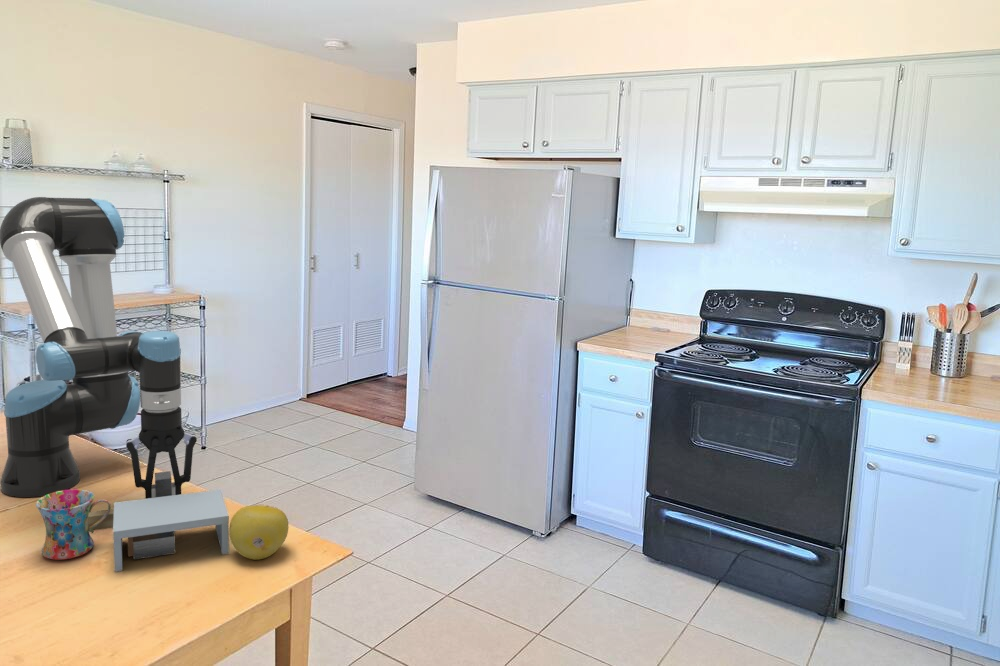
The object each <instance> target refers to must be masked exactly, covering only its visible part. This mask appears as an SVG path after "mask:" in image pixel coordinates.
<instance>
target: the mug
mask: <svg viewBox="0 0 1000 666" xmlns="http://www.w3.org/2000/svg"><path fill="white" fill-rule="evenodd" d="M94 499H95V494H94V492H92V491H90V490H87V489H80V488H79V489H78V488H75V489H74V488H71V489H70V488H69V489H67V490H62V491H57V492H53V493H50V494H48V495H44V496H40V498H38V500H36V502H35V506H36V508H37V510H38V511H39V512H40V514H41V517H42V519H43V522H44V525H45V533H46V534H45V541H44V543H43V547H42V549H41V555H42V556H43V557H44V558H46V559H48V560H49V559H50V560H55V561H57V560H58V561H59V560H61V561H62V560H69V559H75V558H78V557H80V556H83V555H84V554H86V553H88V552H89V551H90V550H92V548H93V547H94V545H95V541H94V539H93V538H92V537H91V534H94V533H95V532H94V531H95V530H91V529H92V528H94V527H95V526H97V525H98V524H100V523H101V522H102V521H103V520H104V519H105V518H106V516H107V515H108V513H109V511H110V509H112V508H111V507H112V506H111V502H110V501H109V500H108V499H104V498H103V499H97V500H95V501H94ZM99 503H106V504H107V506H108V508H107V509H106V510H107V512H106V513H105V515H104V516H103V517H102V518H101V519H100V520H99V521H98V522H96V523H95V524H93V525H92V526H90V527H89V529H88V514H89V513H90V512H92V509H93V507H94V506H95V505H97V504H99ZM90 533H91V534H90Z"/></svg>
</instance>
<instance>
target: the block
mask: <svg viewBox="0 0 1000 666" xmlns="http://www.w3.org/2000/svg"><path fill="white" fill-rule="evenodd" d="M127 555H128V557H134V550H133V537H129V538H127Z"/></svg>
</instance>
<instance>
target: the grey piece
mask: <svg viewBox="0 0 1000 666" xmlns="http://www.w3.org/2000/svg"><path fill="white" fill-rule="evenodd" d="M171 472H172V471H170V470H169V471H159V472H158V471H157V472H154V484H155V489H156V497H164V496H172V483H171V482H172V474H171ZM175 536H176V534H175V531H171V532H164V533H157V534H150V535H143V536H136V537H133V550H134V556H133V560H140V559H146V558H147V559H149V558H153V557H154V558H155V557H160V556H166V555H172V554H173V555H174V554H175V553H176V541H175V540H176V539H175V538H176V537H175Z"/></svg>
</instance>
